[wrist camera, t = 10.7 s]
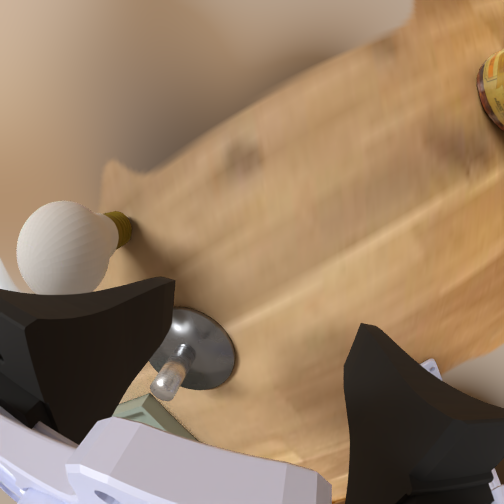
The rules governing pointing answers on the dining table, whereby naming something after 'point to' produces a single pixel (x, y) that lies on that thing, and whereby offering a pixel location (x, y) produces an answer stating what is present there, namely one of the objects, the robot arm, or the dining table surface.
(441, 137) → the dining table surface
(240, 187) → the dining table surface
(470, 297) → the dining table surface
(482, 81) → the sauce bottle
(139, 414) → the tray
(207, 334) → the grey metal round stand
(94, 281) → the light bulb
